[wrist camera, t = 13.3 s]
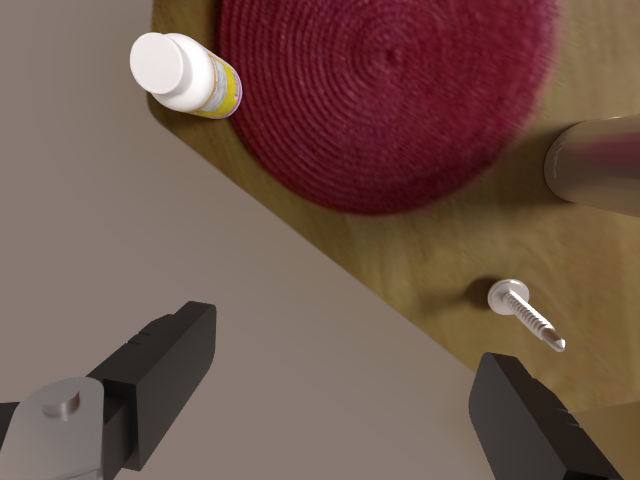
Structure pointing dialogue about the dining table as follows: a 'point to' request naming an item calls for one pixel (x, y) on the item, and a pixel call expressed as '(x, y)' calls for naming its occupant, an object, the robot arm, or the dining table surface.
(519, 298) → the screw
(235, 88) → the supplement bottle
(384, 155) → the dining table surface
